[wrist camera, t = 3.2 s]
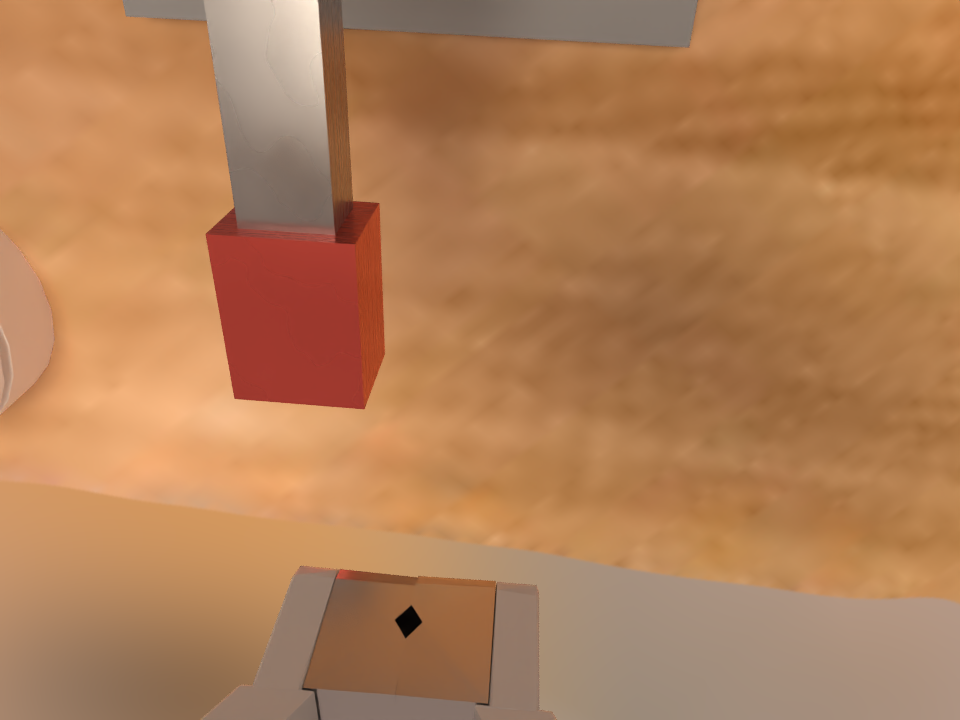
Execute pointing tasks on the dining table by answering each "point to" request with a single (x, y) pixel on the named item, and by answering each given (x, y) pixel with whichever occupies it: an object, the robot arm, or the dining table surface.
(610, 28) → the valve
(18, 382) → the honey pot
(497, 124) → the dining table surface
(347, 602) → the robot arm
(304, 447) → the dining table surface
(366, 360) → the lever
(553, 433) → the dining table surface
